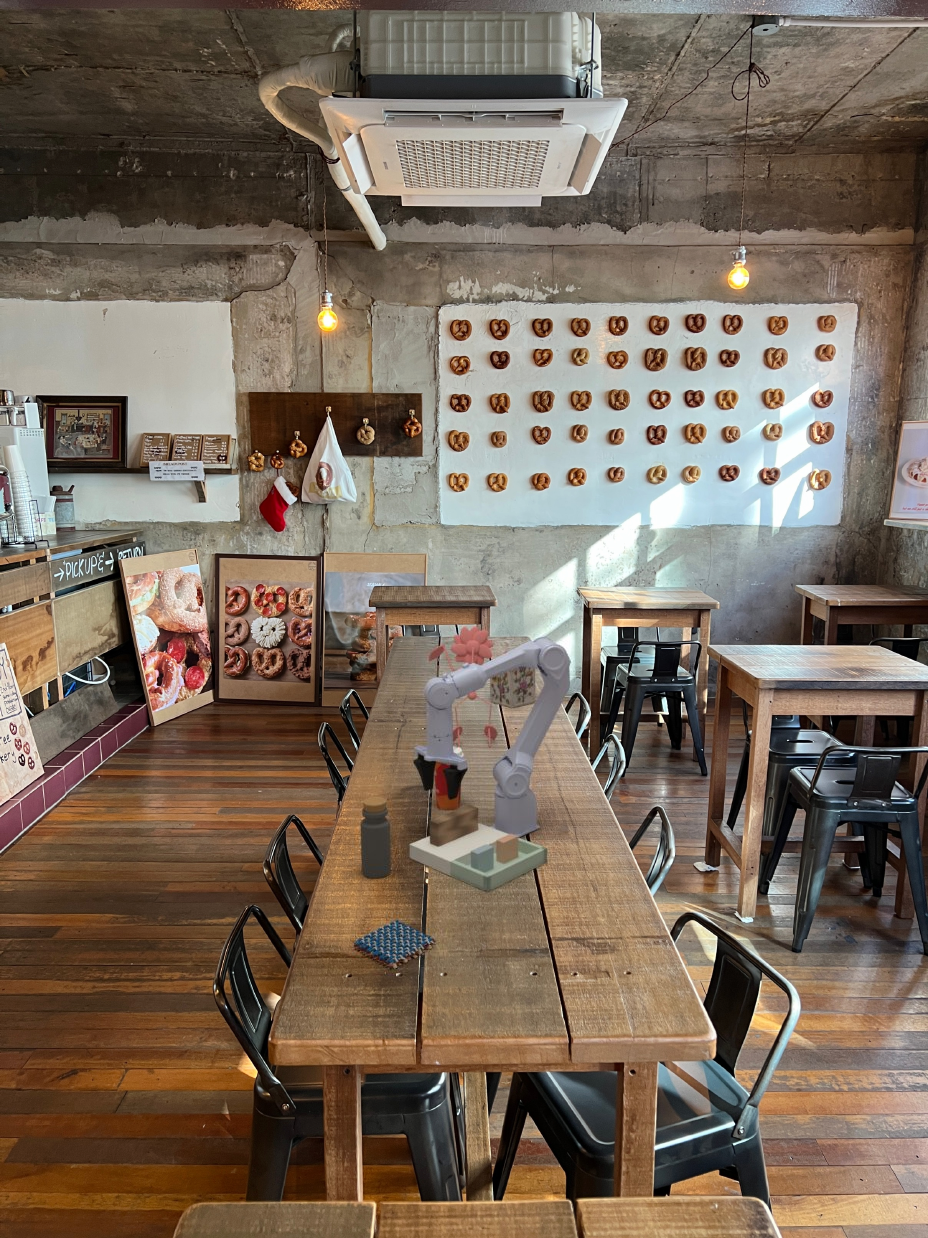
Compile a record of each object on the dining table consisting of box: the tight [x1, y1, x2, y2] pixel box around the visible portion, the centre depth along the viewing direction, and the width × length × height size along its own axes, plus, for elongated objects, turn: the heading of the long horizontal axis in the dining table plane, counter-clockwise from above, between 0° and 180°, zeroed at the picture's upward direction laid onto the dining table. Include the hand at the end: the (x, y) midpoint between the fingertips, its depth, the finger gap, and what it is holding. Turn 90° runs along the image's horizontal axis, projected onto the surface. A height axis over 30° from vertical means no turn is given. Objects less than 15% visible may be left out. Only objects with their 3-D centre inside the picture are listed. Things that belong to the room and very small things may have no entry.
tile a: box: [496, 834, 518, 864], centre depth 178 cm, size 4×4×2 cm
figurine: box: [428, 626, 509, 748], centre depth 259 cm, size 15×26×35 cm, turn 94°
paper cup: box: [434, 745, 465, 811], centre depth 209 cm, size 8×8×14 cm
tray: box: [449, 837, 548, 893], centre depth 175 cm, size 18×10×3 cm, turn 136°
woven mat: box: [353, 919, 436, 970], centre depth 147 cm, size 10×11×2 cm
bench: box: [409, 822, 509, 876], centre depth 183 cm, size 18×12×3 cm, turn 136°
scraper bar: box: [429, 804, 479, 847], centre depth 184 cm, size 12×2×5 cm, turn 136°
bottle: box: [360, 796, 392, 879], centre depth 173 cm, size 6×6×15 cm
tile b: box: [471, 844, 494, 873], centre depth 173 cm, size 4×4×2 cm
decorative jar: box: [489, 666, 536, 709], centre depth 304 cm, size 12×12×18 cm
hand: (440, 794), depth 190 cm, fingers open, 7 cm apart
